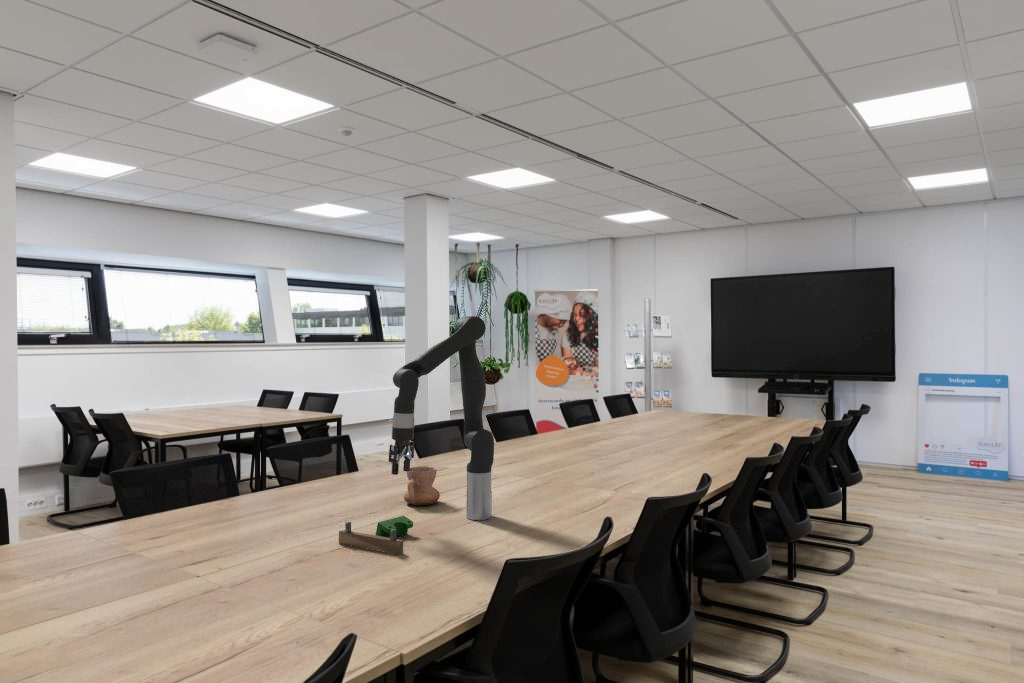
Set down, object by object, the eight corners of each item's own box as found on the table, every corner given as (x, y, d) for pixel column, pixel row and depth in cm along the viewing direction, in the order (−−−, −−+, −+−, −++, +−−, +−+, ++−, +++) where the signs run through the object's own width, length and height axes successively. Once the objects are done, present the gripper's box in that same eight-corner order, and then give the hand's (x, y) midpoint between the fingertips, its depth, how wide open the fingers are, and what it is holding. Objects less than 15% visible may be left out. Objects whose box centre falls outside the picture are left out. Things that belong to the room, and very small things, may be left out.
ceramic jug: (419, 497, 272) (418, 463, 272) (448, 500, 266) (447, 466, 266) (393, 507, 256) (392, 471, 256) (423, 511, 250) (423, 474, 250)
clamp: (389, 554, 211) (385, 533, 207) (378, 546, 215) (373, 525, 211) (417, 533, 219) (413, 512, 215) (405, 526, 223) (401, 505, 219)
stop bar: (343, 542, 210) (343, 520, 210) (403, 553, 199) (403, 530, 199) (338, 543, 208) (338, 522, 208) (399, 555, 197) (399, 532, 197)
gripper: (403, 428, 217) (400, 476, 216) (422, 425, 230) (419, 470, 230) (383, 426, 219) (381, 474, 219) (403, 423, 233) (400, 469, 232)
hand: (400, 472), depth 224 cm, fingers open, 8 cm apart
